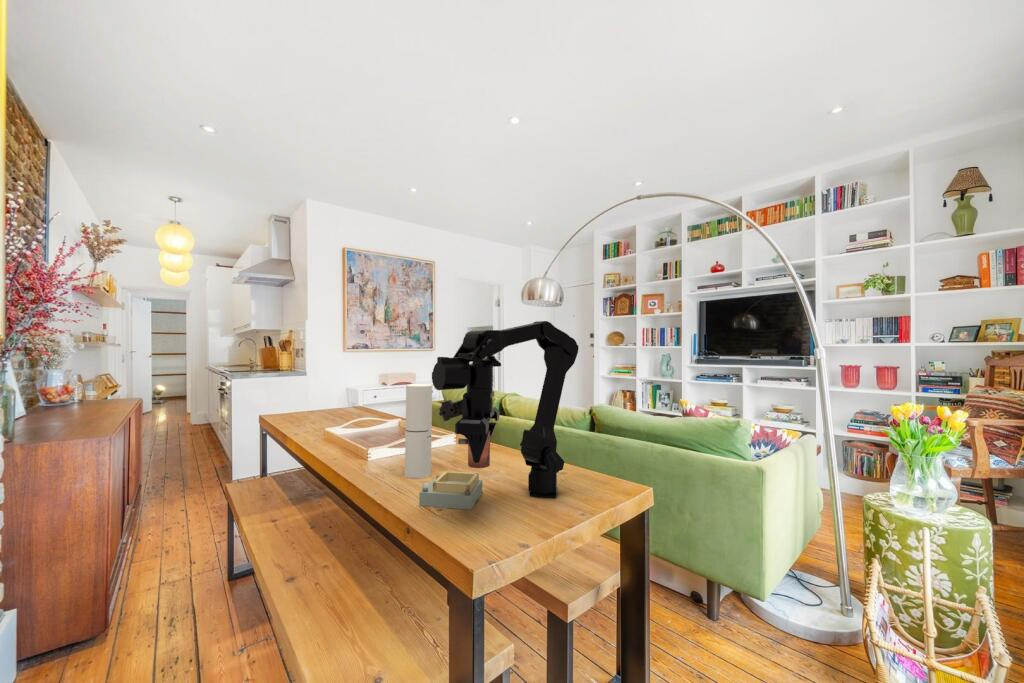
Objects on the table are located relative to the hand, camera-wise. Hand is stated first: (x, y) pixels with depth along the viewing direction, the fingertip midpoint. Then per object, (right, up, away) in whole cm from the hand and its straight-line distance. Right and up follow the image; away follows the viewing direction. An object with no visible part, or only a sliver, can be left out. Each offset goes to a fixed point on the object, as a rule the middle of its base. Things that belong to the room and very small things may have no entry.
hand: (478, 459), depth 90 cm
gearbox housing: (-7, -12, +7) cm, 15 cm away
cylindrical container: (-19, -12, +26) cm, 34 cm away
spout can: (-1, -1, 0) cm, 2 cm away
